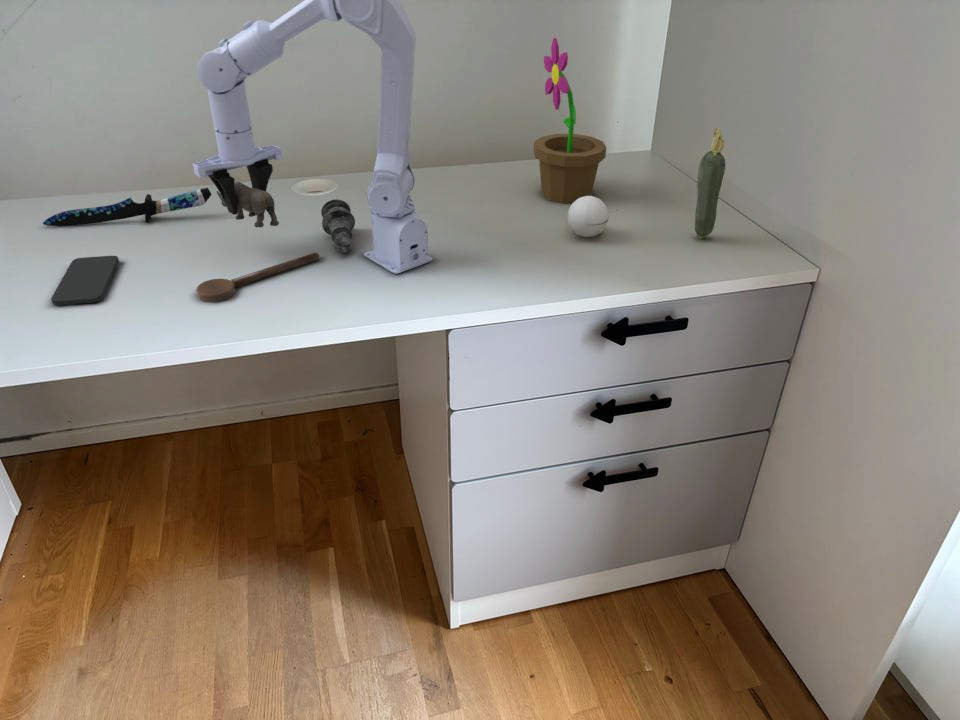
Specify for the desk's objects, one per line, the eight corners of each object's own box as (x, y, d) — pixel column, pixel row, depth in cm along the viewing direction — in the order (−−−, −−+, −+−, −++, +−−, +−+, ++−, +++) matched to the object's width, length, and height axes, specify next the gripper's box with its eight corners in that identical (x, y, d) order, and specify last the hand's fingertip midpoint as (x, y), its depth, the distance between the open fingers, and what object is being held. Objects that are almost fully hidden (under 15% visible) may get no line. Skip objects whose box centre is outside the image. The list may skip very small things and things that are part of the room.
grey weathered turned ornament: (334, 230, 142) (343, 271, 134) (312, 211, 138) (320, 251, 130) (358, 212, 141) (369, 252, 133) (337, 192, 136) (347, 232, 128)
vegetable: (712, 245, 137) (733, 134, 126) (687, 243, 138) (706, 132, 126) (710, 235, 140) (731, 126, 129) (686, 233, 141) (705, 124, 130)
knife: (216, 207, 147) (209, 184, 144) (214, 213, 144) (206, 190, 142) (53, 231, 145) (43, 209, 142) (48, 237, 142) (38, 215, 140)
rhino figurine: (230, 204, 135) (225, 171, 132) (283, 224, 128) (279, 189, 125) (211, 211, 132) (205, 177, 129) (264, 231, 126) (260, 196, 122)
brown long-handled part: (310, 253, 133) (309, 246, 132) (327, 264, 129) (327, 257, 129) (191, 292, 121) (190, 284, 120) (207, 305, 118) (205, 297, 117)
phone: (48, 302, 116) (73, 258, 129) (50, 306, 117) (74, 262, 129) (100, 298, 118) (119, 254, 130) (101, 302, 118) (120, 259, 130)
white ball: (574, 246, 136) (577, 207, 132) (560, 229, 142) (563, 191, 138) (626, 240, 138) (631, 201, 134) (610, 224, 144) (614, 186, 140)
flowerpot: (521, 185, 161) (527, 32, 144) (584, 178, 165) (597, 28, 148) (546, 210, 150) (556, 48, 133) (613, 203, 153) (630, 43, 137)
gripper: (262, 114, 129) (273, 191, 136) (178, 131, 121) (195, 212, 128) (283, 124, 124) (293, 203, 132) (198, 142, 116) (214, 225, 124)
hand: (246, 208), depth 130 cm, fingers closed on rhino figurine, 4 cm apart
